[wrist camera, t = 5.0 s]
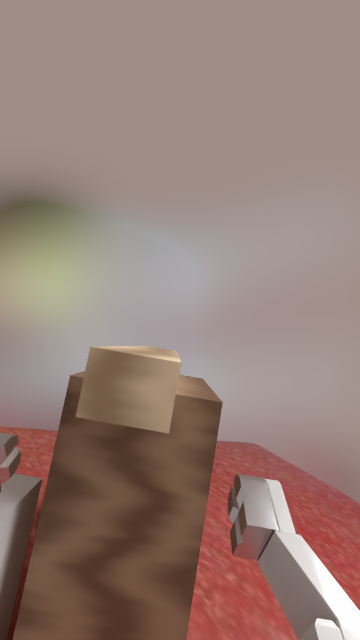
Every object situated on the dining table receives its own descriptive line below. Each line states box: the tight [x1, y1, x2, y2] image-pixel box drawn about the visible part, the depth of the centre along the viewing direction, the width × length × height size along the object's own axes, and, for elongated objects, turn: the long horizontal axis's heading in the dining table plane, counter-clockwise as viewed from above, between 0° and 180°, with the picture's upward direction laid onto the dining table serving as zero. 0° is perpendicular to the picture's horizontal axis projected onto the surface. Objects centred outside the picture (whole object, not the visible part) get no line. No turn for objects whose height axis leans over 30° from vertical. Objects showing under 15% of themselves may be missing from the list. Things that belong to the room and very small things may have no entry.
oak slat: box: [76, 346, 181, 433], centre depth 22 cm, size 4×22×3 cm, turn 1°
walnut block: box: [13, 372, 222, 640], centre depth 25 cm, size 12×14×26 cm
